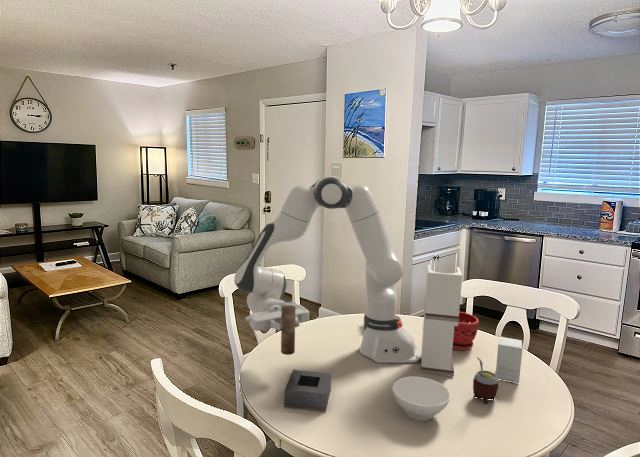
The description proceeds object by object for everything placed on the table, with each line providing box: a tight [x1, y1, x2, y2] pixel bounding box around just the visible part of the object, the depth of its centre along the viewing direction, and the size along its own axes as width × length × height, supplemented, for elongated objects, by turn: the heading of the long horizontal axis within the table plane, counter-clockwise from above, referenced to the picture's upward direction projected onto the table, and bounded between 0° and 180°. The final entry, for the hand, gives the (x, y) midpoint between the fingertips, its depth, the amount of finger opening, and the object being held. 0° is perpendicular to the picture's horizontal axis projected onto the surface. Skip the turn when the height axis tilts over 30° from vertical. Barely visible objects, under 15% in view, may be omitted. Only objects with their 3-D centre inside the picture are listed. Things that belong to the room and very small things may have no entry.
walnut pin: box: [280, 305, 296, 356], centre depth 139 cm, size 4×4×15 cm
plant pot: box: [452, 311, 480, 351], centre depth 169 cm, size 13×13×12 cm
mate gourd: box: [472, 356, 499, 405], centre depth 130 cm, size 8×8×15 cm
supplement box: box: [495, 336, 523, 384], centre depth 144 cm, size 7×7×13 cm
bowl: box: [391, 376, 451, 422], centre depth 123 cm, size 16×16×7 cm
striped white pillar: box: [420, 264, 463, 377], centre depth 149 cm, size 11×11×35 cm
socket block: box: [283, 369, 332, 413], centre depth 128 cm, size 12×12×6 cm
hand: (289, 326), depth 138 cm, fingers closed on walnut pin, 4 cm apart
